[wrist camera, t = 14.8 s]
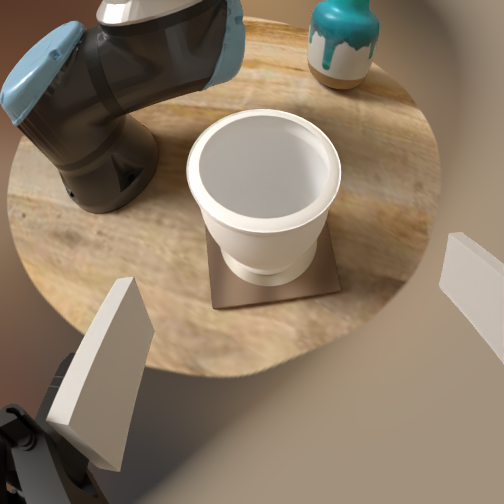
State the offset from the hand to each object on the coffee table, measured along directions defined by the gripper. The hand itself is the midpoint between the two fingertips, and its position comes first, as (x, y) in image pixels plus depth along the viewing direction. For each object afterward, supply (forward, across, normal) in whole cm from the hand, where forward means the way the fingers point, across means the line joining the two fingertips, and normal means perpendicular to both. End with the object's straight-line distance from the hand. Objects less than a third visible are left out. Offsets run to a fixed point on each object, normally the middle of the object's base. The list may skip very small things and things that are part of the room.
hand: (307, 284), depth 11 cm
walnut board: (+22, 0, -8) cm, 24 cm away
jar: (+21, 0, -8) cm, 22 cm away
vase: (+42, +16, +11) cm, 46 cm away
